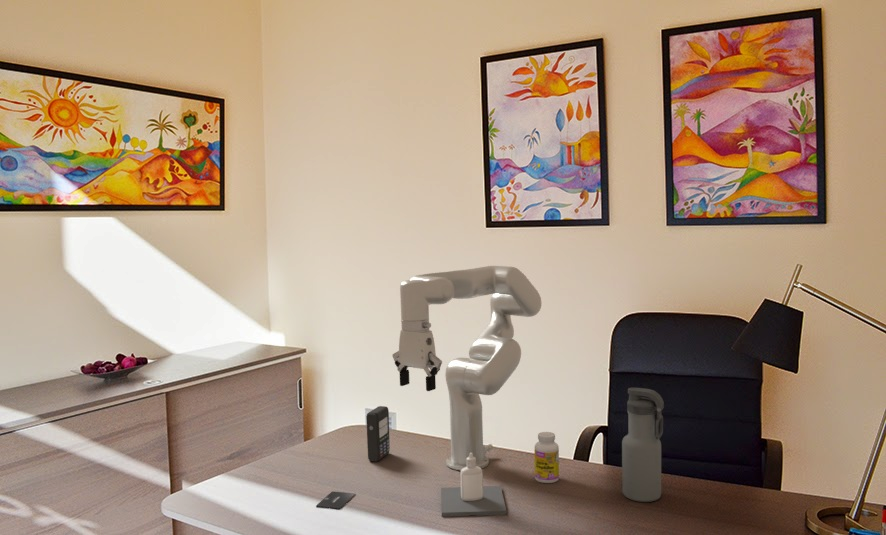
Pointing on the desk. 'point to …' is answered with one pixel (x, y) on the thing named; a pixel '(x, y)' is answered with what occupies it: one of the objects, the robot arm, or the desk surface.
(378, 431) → the card reader
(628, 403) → the water bottle
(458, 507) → the charcoal mat
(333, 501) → the solid state drive
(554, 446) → the supplement bottle
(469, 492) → the eye dropper bottle
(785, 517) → the desk surface
